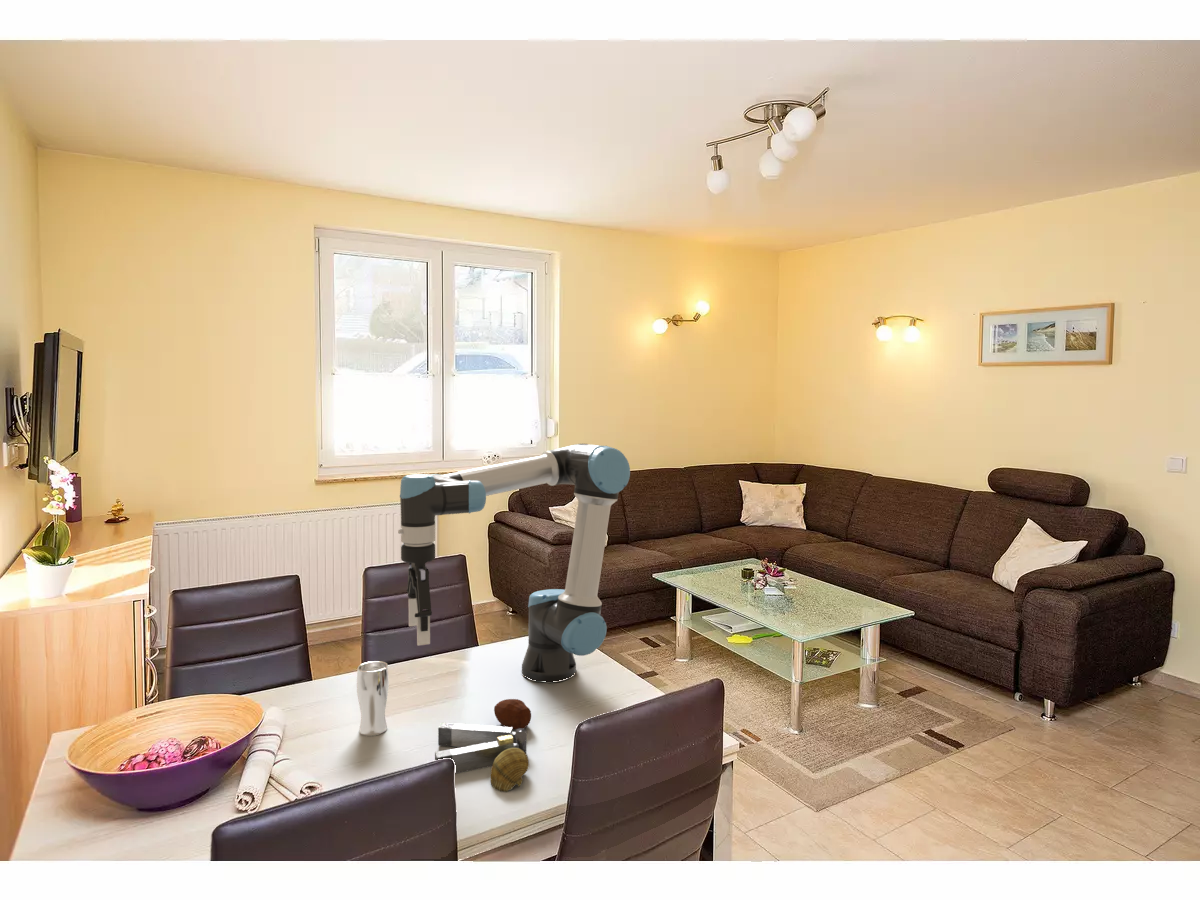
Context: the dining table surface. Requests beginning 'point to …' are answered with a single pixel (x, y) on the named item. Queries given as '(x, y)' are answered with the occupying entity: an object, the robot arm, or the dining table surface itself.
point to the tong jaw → (470, 734)
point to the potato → (512, 713)
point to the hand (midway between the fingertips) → (419, 634)
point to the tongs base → (483, 752)
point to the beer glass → (372, 696)
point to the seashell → (509, 769)
